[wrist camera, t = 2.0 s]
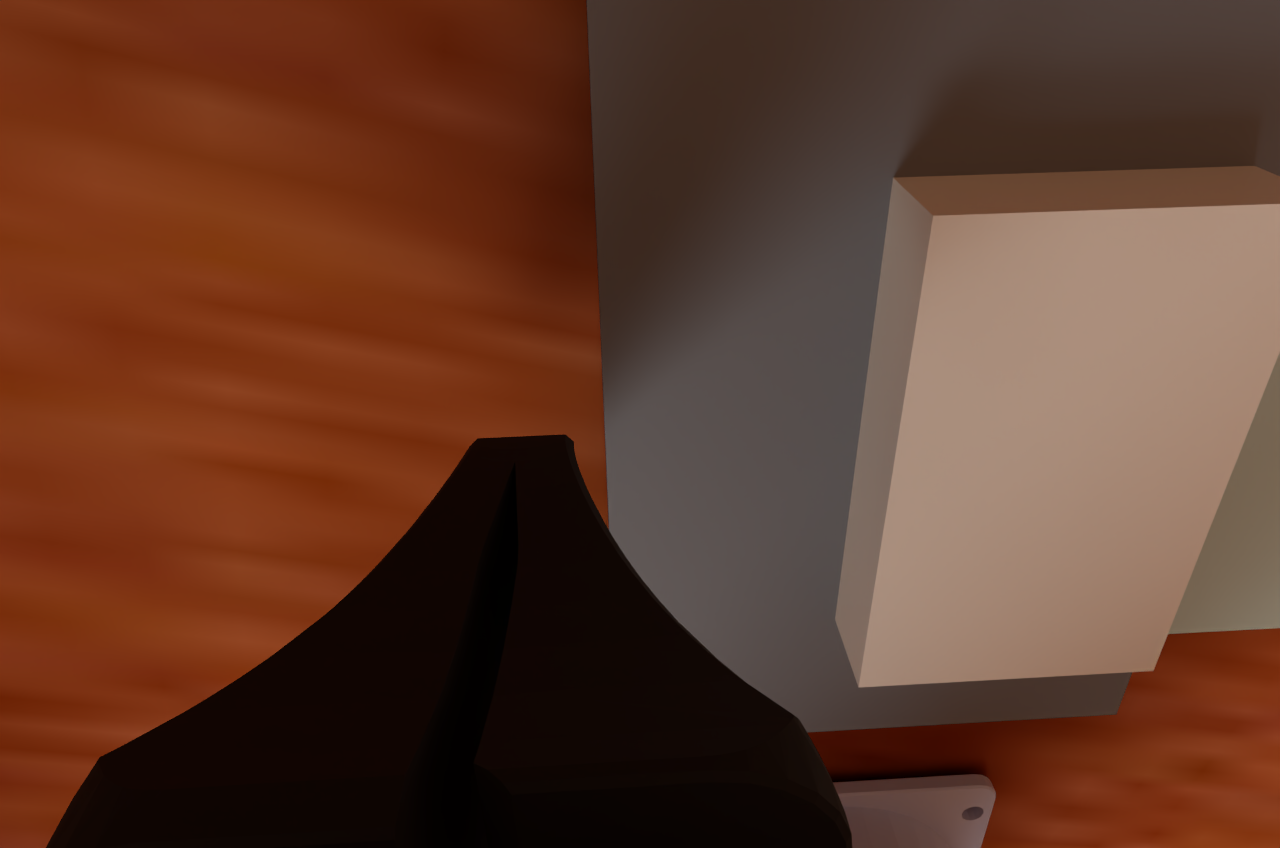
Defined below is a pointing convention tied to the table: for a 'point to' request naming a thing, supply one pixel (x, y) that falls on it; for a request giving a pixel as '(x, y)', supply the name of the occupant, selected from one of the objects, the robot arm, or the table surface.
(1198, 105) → the board
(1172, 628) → the mat
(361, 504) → the table surface
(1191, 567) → the coaster tile
